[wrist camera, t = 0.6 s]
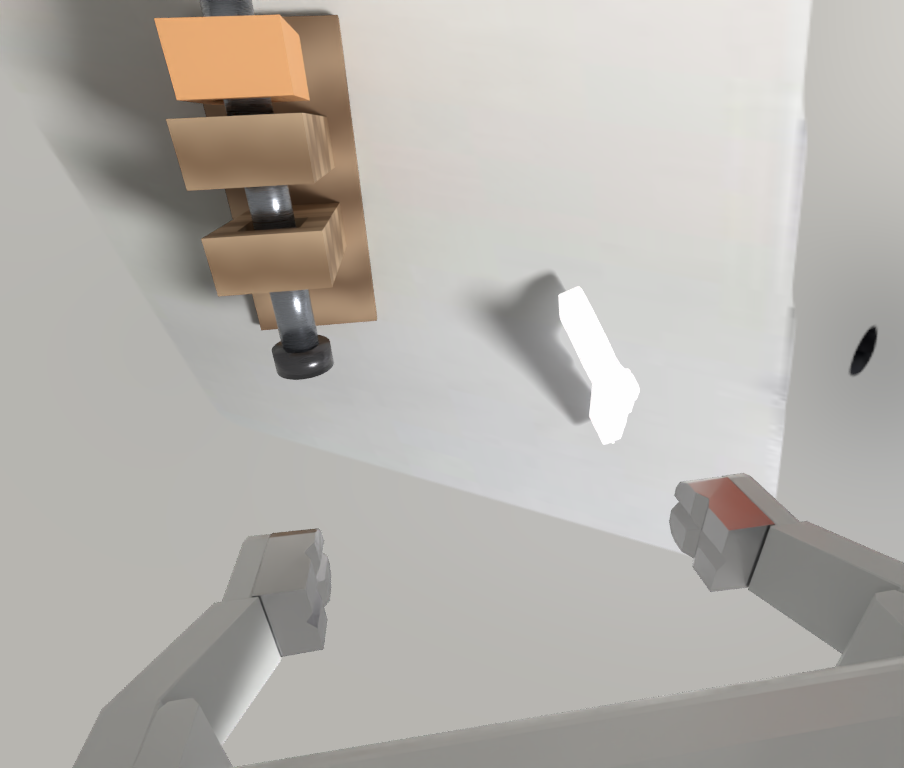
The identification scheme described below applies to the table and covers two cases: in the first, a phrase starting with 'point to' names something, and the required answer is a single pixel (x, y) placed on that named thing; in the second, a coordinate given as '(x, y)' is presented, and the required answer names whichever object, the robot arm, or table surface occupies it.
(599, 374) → the handgun
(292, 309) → the shaft
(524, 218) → the table surface
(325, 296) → the threaded rod press
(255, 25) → the block
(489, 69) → the table surface
